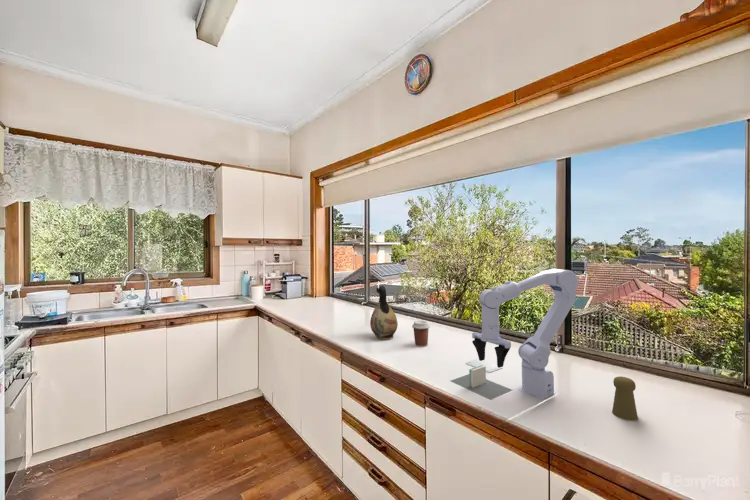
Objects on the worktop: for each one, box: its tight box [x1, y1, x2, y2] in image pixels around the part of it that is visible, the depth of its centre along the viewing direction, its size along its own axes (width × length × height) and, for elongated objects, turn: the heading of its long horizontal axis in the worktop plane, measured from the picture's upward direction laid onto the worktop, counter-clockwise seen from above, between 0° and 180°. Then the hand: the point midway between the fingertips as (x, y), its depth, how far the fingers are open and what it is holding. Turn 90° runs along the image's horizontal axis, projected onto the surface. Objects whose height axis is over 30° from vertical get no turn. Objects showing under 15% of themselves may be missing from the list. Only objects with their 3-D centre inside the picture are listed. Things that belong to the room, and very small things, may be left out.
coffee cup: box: [411, 320, 431, 348], centre depth 164 cm, size 9×9×12 cm
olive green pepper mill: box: [611, 376, 639, 422], centre depth 94 cm, size 6×6×11 cm
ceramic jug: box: [369, 285, 398, 341], centre depth 178 cm, size 17×15×30 cm
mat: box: [450, 373, 513, 401], centre depth 115 cm, size 18×12×1 cm, turn 33°
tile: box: [468, 365, 487, 387], centre depth 116 cm, size 2×7×6 cm, turn 123°
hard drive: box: [465, 358, 503, 374], centre depth 133 cm, size 2×8×12 cm
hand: (490, 363), depth 111 cm, fingers open, 7 cm apart
